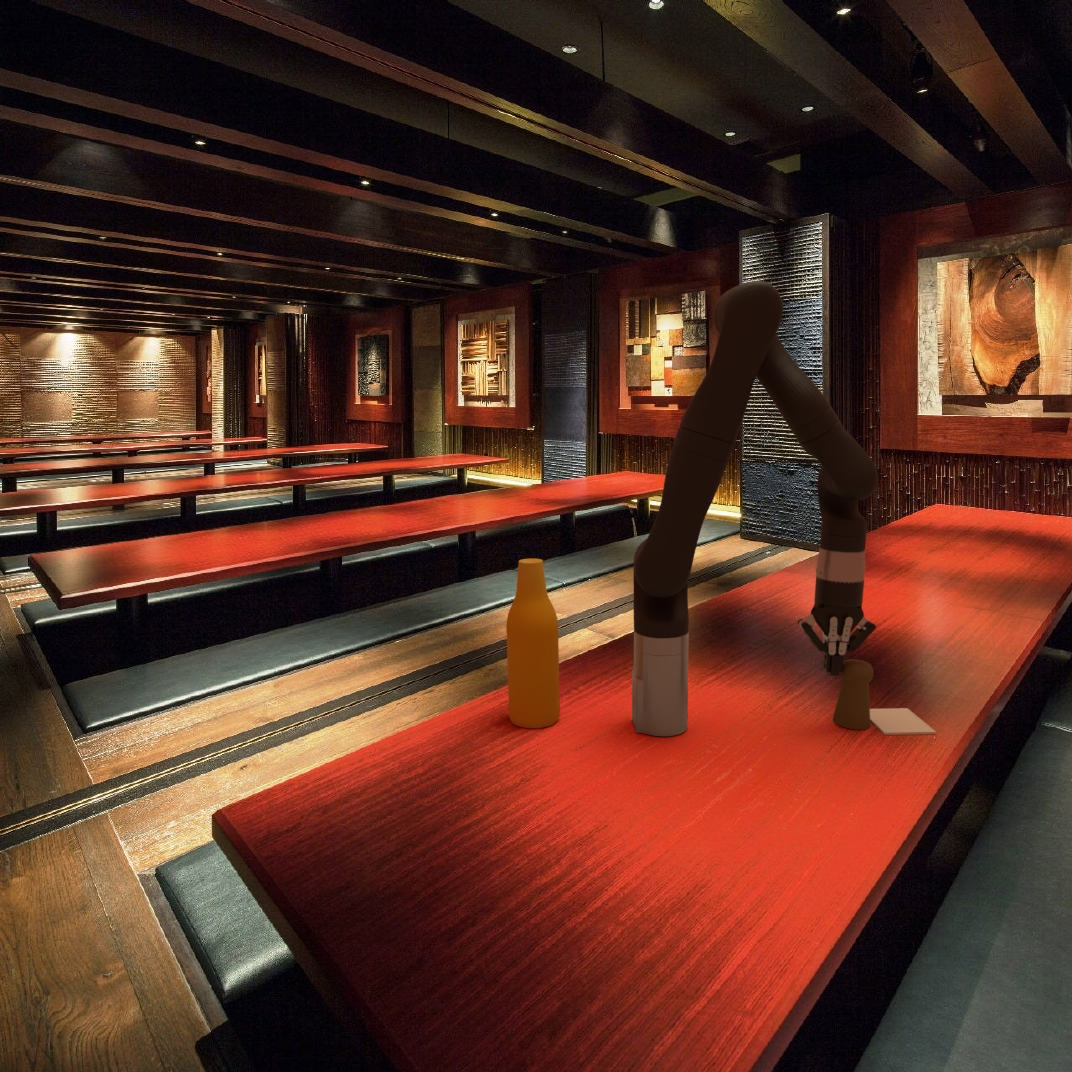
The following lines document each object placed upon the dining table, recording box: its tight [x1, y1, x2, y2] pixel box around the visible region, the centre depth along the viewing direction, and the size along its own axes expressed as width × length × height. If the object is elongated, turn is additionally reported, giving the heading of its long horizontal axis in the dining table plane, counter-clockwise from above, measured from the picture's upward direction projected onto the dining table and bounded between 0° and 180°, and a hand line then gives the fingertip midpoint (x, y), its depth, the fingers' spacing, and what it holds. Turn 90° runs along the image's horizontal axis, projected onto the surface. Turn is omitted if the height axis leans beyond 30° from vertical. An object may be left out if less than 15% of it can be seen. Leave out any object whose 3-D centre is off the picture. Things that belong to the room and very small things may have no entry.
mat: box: [870, 707, 937, 736], centre depth 129 cm, size 8×10×1 cm
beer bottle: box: [505, 558, 561, 729], centre depth 132 cm, size 9×9×29 cm
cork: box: [832, 659, 875, 731], centre depth 129 cm, size 6×6×11 cm
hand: (832, 674), depth 128 cm, fingers closed
